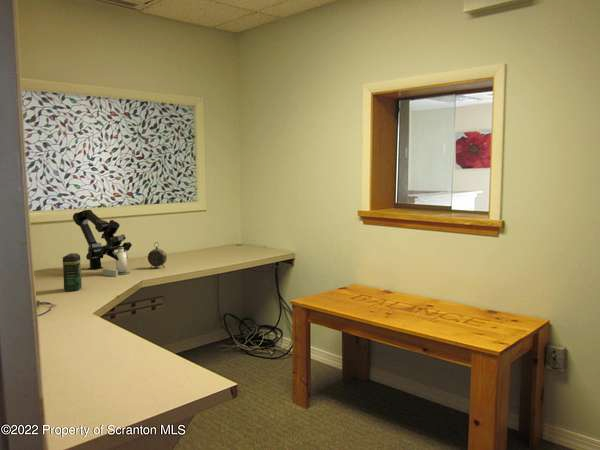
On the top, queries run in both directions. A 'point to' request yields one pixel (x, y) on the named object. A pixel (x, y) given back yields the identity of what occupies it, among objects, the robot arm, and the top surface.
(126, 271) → the mat
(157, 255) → the alarm clock
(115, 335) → the top surface
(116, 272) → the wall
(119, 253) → the bottle
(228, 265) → the top surface
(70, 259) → the coffee jar
